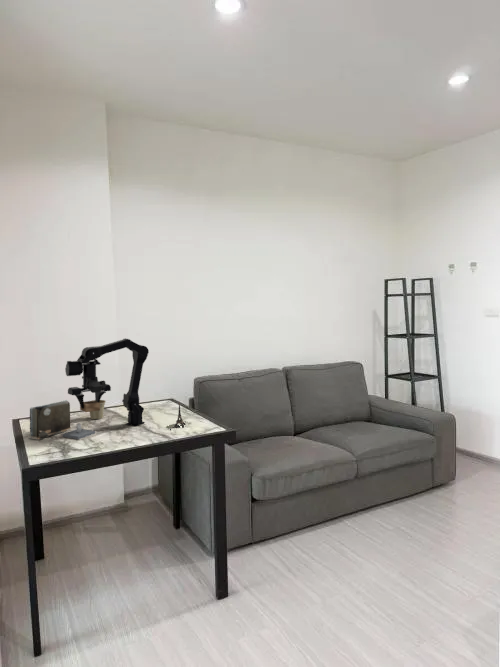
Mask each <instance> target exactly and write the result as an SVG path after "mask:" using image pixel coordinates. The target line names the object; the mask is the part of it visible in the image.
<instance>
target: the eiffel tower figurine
mask: <svg viewBox="0 0 500 667" xmlns="http://www.w3.org/2000/svg"><path fill="white" fill-rule="evenodd" d="M184 422H186V421H184V419H183V417H182V413H181V403H180V401H178V415H177V420H176V422H175V423H172V424H169V426H168V425H166V426H165V428H166V429H172V428H173V429H185V428H184V425H186V426H187V423H184ZM179 425H180V426H182V428H180V426H179ZM169 427H170V428H169ZM171 427H172V428H171Z"/></svg>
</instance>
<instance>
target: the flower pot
mask: <svg viewBox="0 0 500 667" xmlns="http://www.w3.org/2000/svg"><path fill="white" fill-rule="evenodd" d="M91 401H95V399H93V400H91ZM106 402H107V401H106V400H104V399H100V402H99V403H100V410H98V411H92V412H89V415H90V416H89V417H90V419H91V420H101V419H103V418H104V409H105V405H106Z"/></svg>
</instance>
